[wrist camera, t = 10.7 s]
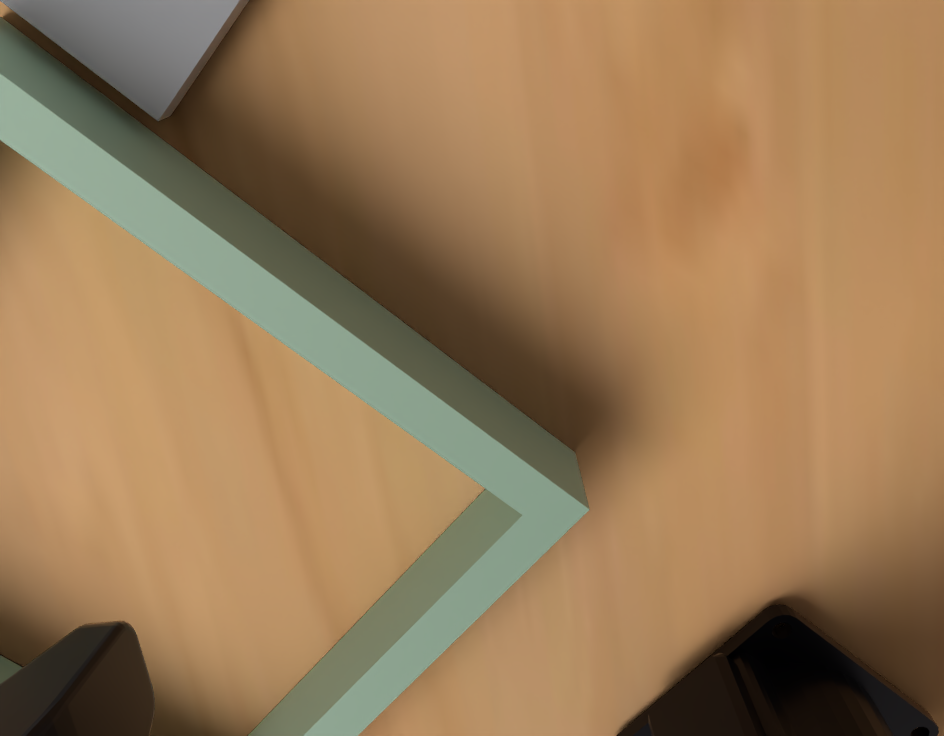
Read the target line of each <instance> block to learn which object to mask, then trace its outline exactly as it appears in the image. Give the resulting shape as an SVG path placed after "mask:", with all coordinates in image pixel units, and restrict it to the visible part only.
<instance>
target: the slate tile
mask: <svg viewBox="0 0 944 736" xmlns="http://www.w3.org/2000/svg"><path fill="white" fill-rule="evenodd" d="M0 1H1V2H2V3H4V4H5V5H6V6H8V7H9V8H10V9H12V10H13V11H14V12H16V13H17V14H18V15H20V16H21V17H22V18H23V19H25V20H26V21H27V22H29V23H30V24H31V25H33V26H34V27H35V28H37V29H38V30H39V31H40V32H42V33H43V34H44V35H46V36H47V37H48V38H50V39H51V40H52V41H54V42H55V43H56V44H57V45H59V46H60V47H61V48H63V49H64V50H65V51H67V52H68V53H69V54H71V55H72V56H73V57H74V58H76V59H77V60H78V61H80V62H81V63H82V64H84V65H85V66H86V67H88V68H89V69H90V70H92V71H93V72H94V73H95V74H97V75H98V76H99V77H101V78H102V79H103V80H105V81H106V82H107V83H109V84H110V85H111V86H112V87H114V88H115V89H116V90H118V91H119V92H120V93H122V94H123V95H124V96H126V97H127V98H128V99H129V100H131V101H132V102H133V103H135V104H136V105H137V106H139V107H140V108H141V109H143V110H144V111H145V112H147V113H148V114H149V115H150V116H152V117H153V118H154V119H156V120H157V121H160V120H162V119H165V118H167V117H169V116H171V115H172V113H173V112H174V110H175V109H176V107H177V106H178V104H179V103H180V101H181V100H182V98H183V97H184V95H185V94H186V92H187V91H188V90H189V88H190V87H191V85H192V84H193V82H194V81H195V79H196V78H197V76H198V75H199V73H200V72H201V70H202V69H203V67H204V66H205V64H206V63H207V62H208V60H209V59H210V57H211V56H212V54H213V53H214V51H215V50H216V48H217V47H218V45H219V44H220V42H221V41H222V39H223V38H224V37H225V35H226V34H227V32H228V31H229V29H230V28H231V26H232V25H233V23H234V22H235V20H236V19H237V17H238V16H239V14H240V13H241V11H242V10H243V9H244V7H245V6H246V4H247V3H248V1H249V0H0Z"/></svg>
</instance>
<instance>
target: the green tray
mask: <svg viewBox="0 0 944 736" xmlns="http://www.w3.org/2000/svg"><path fill="white" fill-rule="evenodd" d="M0 140H1V141H2V142H4V143H5V144H6V145H8V146H9V147H11V148H12V149H13V150H15V151H16V152H18V153H19V154H20V155H22V156H23V157H25V158H26V159H27V160H29V161H30V162H31V163H33V164H34V165H36V166H37V167H38V168H40V169H41V170H43V171H44V172H45V173H47V174H48V175H50V176H51V177H52V178H54V179H55V180H57V181H58V182H59V183H61V184H62V185H63V186H65V187H66V188H68V189H69V190H70V191H72V192H73V193H75V194H76V195H77V196H79V197H80V198H82V199H83V200H84V201H86V202H87V203H89V204H90V205H91V206H93V207H94V208H96V209H97V210H98V211H100V212H101V213H102V214H104V215H105V216H107V217H108V218H109V219H111V220H112V221H114V222H115V223H116V224H118V225H119V226H121V227H122V228H123V229H125V230H126V231H128V232H129V233H130V234H132V235H133V236H135V237H136V238H137V239H139V240H140V241H141V242H143V243H144V244H146V245H147V246H148V247H150V248H151V249H153V250H154V251H155V252H157V253H158V254H160V255H161V256H162V257H164V258H165V259H167V260H168V261H169V262H171V263H172V264H174V265H175V266H176V267H178V268H179V269H180V270H182V271H183V272H185V273H186V274H187V275H189V276H190V277H192V278H193V279H194V280H196V281H197V282H199V283H200V284H201V285H203V286H204V287H206V288H207V289H208V290H210V291H211V292H212V293H214V294H215V295H217V296H218V297H219V298H221V299H222V300H224V301H225V302H226V303H228V304H229V305H231V306H232V307H233V308H235V309H236V310H238V311H239V312H240V313H242V314H243V315H245V316H246V317H247V318H249V319H250V320H251V321H253V322H254V323H256V324H257V325H258V326H260V327H261V328H263V329H264V330H265V331H267V332H268V333H270V334H271V335H272V336H274V337H275V338H277V339H278V340H279V341H281V342H282V343H284V344H285V345H286V346H288V347H289V348H290V349H292V350H293V351H295V352H296V353H297V354H299V355H300V356H302V357H303V358H304V359H306V360H307V361H309V362H310V363H311V364H313V365H314V366H316V367H317V368H318V369H320V370H321V371H323V372H324V373H325V374H327V375H328V376H329V377H331V378H332V379H334V380H335V381H336V382H338V383H339V384H341V385H342V386H343V387H345V388H346V389H348V390H349V391H350V392H352V393H353V394H355V395H356V396H357V397H359V398H360V399H362V400H363V401H364V402H366V403H367V404H368V405H370V406H371V407H373V408H374V409H375V410H377V411H378V412H380V413H381V414H382V415H384V416H385V417H387V418H388V419H389V420H391V421H392V422H394V423H395V424H396V425H398V426H399V427H400V428H402V429H403V430H405V431H406V432H407V433H409V434H410V435H412V436H413V437H414V438H416V439H417V440H419V441H420V442H421V443H423V444H424V445H426V446H427V447H428V448H430V449H431V450H433V451H434V452H435V453H437V454H438V455H439V456H441V457H442V458H444V459H445V460H446V461H448V462H449V463H451V464H452V465H453V466H455V467H456V468H458V469H459V470H460V471H462V472H463V473H465V474H466V475H467V476H469V477H470V478H472V479H473V480H474V481H476V482H477V483H478V484H480V485H481V486H483V487H484V488H485V490H484V491H483V492H482V493H481V494H480V495H479V496H478V497H477V498H476V499H475V500H474V501H473V502H472V503H471V505H470V506H469V507H468V508H467V509H466V510H465V511H464V512H463V513H462V514H461V515H460V516H459V517H458V518H457V519H456V520H455V521H454V522H453V523H452V524H451V525H450V526H449V527H448V528H447V529H446V530H445V531H444V533H443V534H442V535H441V536H440V537H439V538H438V539H437V540H436V541H435V542H434V543H433V544H432V545H431V546H430V547H429V548H428V549H427V550H426V551H425V552H424V553H423V554H422V555H421V556H420V557H419V558H418V560H417V561H416V562H415V563H414V564H413V565H412V566H411V567H410V568H409V569H408V570H407V571H406V572H405V573H404V574H403V575H402V576H401V577H400V578H399V579H398V580H397V581H396V582H395V583H394V584H393V585H392V587H391V588H390V589H389V590H388V591H387V592H386V593H385V594H384V595H383V596H382V597H381V598H380V599H379V600H378V601H377V602H376V603H375V604H374V605H373V606H372V607H371V608H370V609H369V610H368V611H367V612H366V613H365V615H364V616H363V617H362V618H361V619H360V620H359V621H358V622H357V623H356V624H355V625H354V626H353V627H352V628H351V629H350V630H349V631H348V632H347V633H346V634H345V635H344V636H343V637H342V638H341V639H340V640H339V642H338V643H337V644H336V645H335V646H334V647H333V648H332V649H331V650H330V651H329V652H328V653H327V654H326V655H325V656H324V657H323V658H322V659H321V660H320V661H319V662H318V663H317V664H316V665H315V666H314V667H313V668H312V670H311V671H310V672H309V673H308V674H307V675H306V676H305V677H304V678H303V679H302V680H301V681H300V682H299V683H298V684H297V685H296V686H295V687H294V688H293V689H292V690H291V691H290V692H289V693H288V694H287V695H286V697H285V698H284V699H283V700H282V701H281V702H280V703H279V704H278V705H277V706H276V707H275V708H274V709H273V710H272V711H271V712H270V713H269V714H268V715H267V716H266V717H265V718H264V719H263V720H262V721H261V722H260V723H259V725H258V726H257V727H256V728H255V729H254V730H253V731H252V732H251V733H250V734H249V735H248V736H358V735H359V734H360V733H361V732H362V731H363V730H364V729H365V728H366V727H367V726H368V725H369V724H370V723H371V722H372V721H373V720H374V719H375V718H376V717H377V716H378V715H379V714H380V713H381V712H382V711H383V710H384V709H385V708H386V707H387V706H388V705H390V704H391V703H392V702H393V701H394V700H395V699H396V698H397V697H398V696H399V695H400V694H401V693H402V692H403V691H404V690H405V689H406V688H407V687H408V686H409V685H410V684H411V683H412V682H413V681H414V680H415V679H416V678H417V677H418V676H419V675H420V674H421V673H422V672H423V671H424V670H425V669H426V668H427V667H429V666H430V665H431V664H432V663H433V662H434V661H435V660H436V659H437V658H438V657H439V656H440V655H441V654H442V653H443V652H444V651H445V650H446V649H447V648H448V647H449V646H450V645H451V644H452V643H453V642H454V641H455V640H456V639H457V638H458V637H459V636H460V635H461V634H462V633H463V632H464V631H465V630H466V629H467V628H469V627H470V626H471V625H472V624H473V623H474V622H475V621H476V620H477V619H478V618H479V617H480V616H481V615H482V614H483V613H484V612H485V611H486V610H487V609H488V608H489V607H490V606H491V605H492V604H493V603H494V602H495V601H496V600H497V599H498V598H499V597H500V596H501V595H502V594H503V593H504V592H505V591H506V590H508V589H509V588H510V587H511V586H512V585H513V584H514V583H515V582H516V581H517V580H518V579H519V578H520V577H521V576H522V575H523V574H524V573H525V572H526V571H527V570H528V569H529V568H530V567H531V566H532V565H533V564H534V563H535V562H536V561H537V560H538V559H539V558H540V557H541V556H542V555H543V554H544V553H545V552H547V551H548V550H549V549H550V548H551V547H552V546H553V545H554V544H555V543H556V542H557V541H558V540H559V539H560V538H561V537H562V536H563V535H564V534H565V533H566V532H567V531H568V530H569V529H570V528H571V527H572V526H573V525H574V524H575V523H576V522H577V521H578V520H579V519H580V518H581V517H582V516H583V515H584V514H586V513H587V512H588V511H589V510H590V509H589V506H588V502H587V498H586V494H585V490H584V486H583V482H582V478H581V474H580V470H579V466H578V462H577V458H576V454H575V452H574V451H572V450H571V449H570V448H568V447H567V446H566V445H565V444H563V443H562V442H561V441H559V440H558V439H557V438H555V437H554V436H553V435H551V434H550V433H549V432H547V431H546V430H545V429H543V428H542V427H541V426H539V425H538V424H537V423H536V422H534V421H533V420H532V419H530V418H529V417H528V416H526V415H525V414H524V413H522V412H521V411H520V410H518V409H517V408H516V407H514V406H513V405H512V404H510V403H509V402H508V401H507V400H505V399H504V398H503V397H501V396H500V395H499V394H497V393H496V392H495V391H493V390H492V389H491V388H489V387H488V386H487V385H485V384H484V383H483V382H481V381H480V380H479V379H478V378H476V377H475V376H474V375H472V374H471V373H470V372H468V371H467V370H466V369H464V368H463V367H462V366H460V365H459V364H458V363H456V362H455V361H454V360H452V359H451V358H450V357H449V356H447V355H446V354H445V353H443V352H442V351H441V350H439V349H438V348H437V347H435V346H434V345H433V344H431V343H430V342H429V341H427V340H426V339H425V338H423V337H422V336H421V335H420V334H418V333H417V332H416V331H414V330H413V329H412V328H410V327H409V326H408V325H406V324H405V323H404V322H402V321H401V320H400V319H398V318H397V317H396V316H395V315H393V314H392V313H391V312H389V311H388V310H387V309H385V308H384V307H383V306H381V305H380V304H379V303H377V302H376V301H375V300H373V299H372V298H371V297H369V296H368V295H367V294H366V293H364V292H363V291H362V290H360V289H359V288H358V287H356V286H355V285H354V284H352V283H351V282H350V281H348V280H347V279H346V278H344V277H343V276H342V275H340V274H339V273H338V272H337V271H335V270H334V269H333V268H331V267H330V266H329V265H327V264H326V263H325V262H323V261H322V260H321V259H319V258H318V257H317V256H315V255H314V254H313V253H311V252H310V251H309V250H308V249H306V248H305V247H304V246H302V245H301V244H300V243H298V242H297V241H296V240H294V239H293V238H292V237H290V236H289V235H288V234H286V233H285V232H284V231H282V230H281V229H280V228H279V227H277V226H276V225H275V224H273V223H272V222H271V221H269V220H268V219H267V218H265V217H264V216H263V215H261V214H260V213H259V212H257V211H256V210H255V209H253V208H252V207H251V206H250V205H248V204H247V203H246V202H244V201H243V200H242V199H240V198H239V197H238V196H236V195H235V194H234V193H232V192H231V191H230V190H228V189H227V188H226V187H224V186H223V185H222V184H221V183H219V182H218V181H217V180H215V179H214V178H213V177H211V176H210V175H209V174H207V173H206V172H205V171H203V170H202V169H201V168H199V167H198V166H197V165H195V164H194V163H193V162H192V161H190V160H189V159H188V158H186V157H185V156H184V155H182V154H181V153H180V152H178V151H177V150H176V149H174V148H173V147H172V146H170V145H169V144H168V143H166V142H165V141H164V140H163V139H161V138H160V137H159V136H157V135H156V134H155V133H153V132H152V131H151V130H149V129H148V128H147V127H145V126H144V125H143V124H141V123H140V122H139V121H137V120H136V119H135V118H134V117H132V116H131V115H130V114H128V113H127V112H126V111H124V110H123V109H122V108H120V107H119V106H118V105H116V104H115V103H114V102H112V101H111V100H110V99H108V98H107V97H106V96H105V95H103V94H102V93H101V92H99V91H98V90H97V89H95V88H94V87H93V86H91V85H90V84H89V83H87V82H86V81H85V80H83V79H82V78H81V77H79V76H78V75H77V74H76V73H74V72H73V71H72V70H70V69H69V68H68V67H66V66H65V65H64V64H62V63H61V62H60V61H58V60H57V59H56V58H54V57H53V56H52V55H50V54H49V53H48V52H47V51H45V50H44V49H43V48H41V47H40V46H39V45H37V44H36V43H35V42H33V41H32V40H31V39H29V38H28V37H27V36H25V35H24V34H23V33H21V32H20V31H19V30H18V29H16V28H15V27H14V26H12V25H11V24H10V23H8V22H7V21H6V20H4V19H3V18H2V17H0ZM21 668H23V667H21V666H19V665H17V664H15V663H13V662H12V661H10V660H8V659H6V658H4V657H3V656H1V655H0V684H1V683H2V682H4V681H5V680H6V679H8V678H9V677H11V676H12V675H13V674H15V673H16V672H17V671H19V670H20V669H21Z"/></svg>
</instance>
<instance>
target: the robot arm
mask: <svg viewBox="0 0 944 736" xmlns="http://www.w3.org/2000/svg"><path fill="white" fill-rule="evenodd" d="M779 623H785V625H784V626H782V627H780V628H774V627H775V625H777V624H779ZM154 709H155V699H154V692H153V687H152V684H151V681H150V677H149V674H148V671H147V667H146V664H145V661H144V657H143V654H142V651H141V647H140V644H139V641H138V638H137V635H136V632H135V630H134V629H133V627H132V626H131V625H130V624H129V623H127V622H125V621H114V622H101V623H90V624H84V625H82V626H79V627H78V628H76V629H75V630H73V631H72V632H71V633H69V634H68V635H67V636H65V637H64V638H63V639H61V640H60V641H58V642H57V643H56V644H54V645H53V646H52V647H50V648H49V649H47V650H46V651H45V652H43V653H42V654H41V655H39V656H38V657H37V658H35V659H34V660H32V661H31V662H30V663H28V664H27V665H26V666H24V667H23V668H21V669H20V670H19V671H17V672H16V673H15V674H13V675H12V676H11V677H9V678H8V679H6V680H5V681H4V682H2V683H1V684H0V736H150V732H151V727H152V723H153V718H154ZM938 733H939V731H938V726H937V725H936V723H935V722H934V720H933V719H932V717H931V716H930V714H929V713H928V712H927V711H926V710H925V709H923V708H922V707H921V706H919V705H918V704H917V703H915V702H914V701H913V700H911V699H910V698H909V697H907V696H906V695H905V694H904V693H902V692H901V691H900V690H898V689H897V688H896V687H894V686H893V685H892V684H890V683H889V682H888V681H886V680H885V679H884V678H883V677H881V676H880V675H879V674H877V673H876V672H875V671H873V670H872V669H871V668H869V667H868V666H867V665H865V664H864V663H863V662H862V661H860V660H859V659H858V658H856V657H855V656H854V655H852V654H851V653H850V652H848V651H847V650H846V649H845V648H843V647H842V646H841V645H839V644H838V643H837V642H835V641H834V640H833V639H831V638H830V637H829V636H827V635H826V634H825V633H824V632H822V631H821V630H820V629H818V628H817V627H816V626H814V625H813V624H812V623H810V622H809V621H808V620H806V619H805V618H804V617H803V616H801V615H800V614H799V613H797V612H796V611H795V610H793V609H792V608H790V607H788V606H786V605H774V606H770V607H769V608H767V609H765V610H764V611H762V612H761V613H760V614H759V615H758V616H757V617H755V618H754V619H753V620H752V621H751V622H750V623H748V624H747V625H746V626H745V627H744V628H742V629H741V630H740V631H739V632H738V633H737V634H735V635H734V636H733V637H732V638H731V639H730V640H728V641H727V642H726V643H725V644H724V645H723V646H721V647H720V648H719V649H718V650H717V651H715V652H714V653H713V654H712V655H711V656H710V657H708V658H707V659H706V660H705V661H704V662H703V663H701V664H700V665H699V666H698V667H697V668H696V669H694V670H693V671H692V672H691V673H690V674H688V675H687V676H686V677H685V678H684V679H683V680H681V681H680V682H679V683H678V684H677V685H676V686H674V687H673V688H672V689H671V690H670V691H669V692H667V693H666V694H665V695H664V696H663V697H661V698H660V699H659V700H658V701H657V702H656V703H654V704H653V705H652V706H651V707H650V708H649V709H647V710H646V711H645V712H644V713H643V714H642V715H640V716H639V717H638V718H637V719H636V720H634V721H633V722H632V723H631V724H630V725H629V726H627V727H626V728H625V729H624V730H623V731H622V732H620V733H619V734H618V735H617V736H937V735H938Z"/></svg>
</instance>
